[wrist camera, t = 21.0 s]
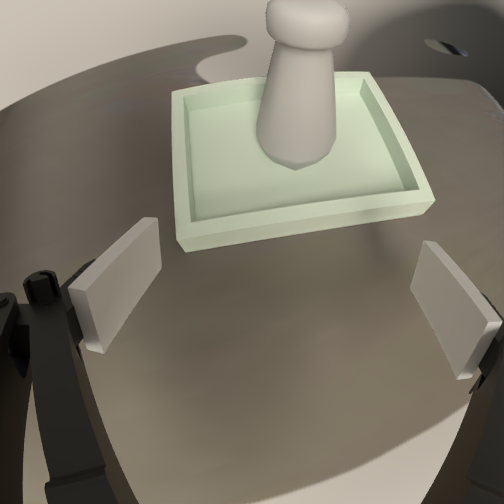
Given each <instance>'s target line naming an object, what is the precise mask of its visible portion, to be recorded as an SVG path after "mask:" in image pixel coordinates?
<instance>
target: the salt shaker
mask: <svg viewBox="0 0 504 504" xmlns="http://www.w3.org/2000/svg"><path fill="white" fill-rule="evenodd" d="M266 25H267V31H268V33H269V35H270V36H271V37H272V38H274V40H275V45H274V49H273V54H272V57H271V62H270V66H269V70H268V75H267V78H266V83H265V87H264V91H263V96H262V100H261V104H260V109H259V113H258V118H257V123H256V135H257V138H258V141H259V142H260V144H261V146H262V148H263V149H264V151H265V153H266V154H267V155H268V156H269V157H270V159H271V160H272V161H273V162H275V163H277V164H280V165H282V166H285V167H287V168H289V169H292V170H294V171H297V170H299V169H302V168H305V167H308V166H310V165H313V164H316V163H317V162H319V161H320V160H321V159H323V158H324V157H325V156H327V155H328V154H329V152H330V151H331V148H332V146H333V144H334V142H335V140H336V101H335V79H334V51H333V48H336V47H339V46H340V45H341V44H342V42H343V41H344V39H345V38H346V36H347V34H348V30H349V26H350V22H349V14H348V12H347V10H346V8H345V7H344V6H343V5H342V3H341V2H339V1H337V0H271V1H269V2H268V4H267V9H266Z"/></svg>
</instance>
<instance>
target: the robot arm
mask: <svg viewBox="0 0 504 504" xmlns="http://www.w3.org/2000/svg"><path fill="white" fill-rule="evenodd" d="M161 268H162V262H161V252H160V241H159V228H158V218H151V217H143V218H142V219H141V220H140V221H139V222H137V223H136V224H135V225H134V226H133V227H132V228H131V229H129V230H128V231H127V232H126V233H125V234H124V235H123V236H122V237H120V238H119V239H118V240H117V241H116V242H115V243H114V244H113V245H112V246H110V247H109V248H108V249H107V250H106V251H105V252H104V253H103V254H102V255H101V256H100V257H99V258H97V259H94V260H92V261H90V262H88V263H86V264H84V265H83V266H82V267H81V268H80V269H79V270H78V272H76V273H75V274H74V275H73V276H72V277H70V278H69V279H68V280H67V281H66V282H65V283H64V284H63V285H62V286H61V287H60V288H59V284H58V281H57V277H56V274H55V272H53V271H49V270H44V271H38V272H36V273H33V274H31V275H30V276H28V277H27V278H26V279H25V280H24V282H23V287H24V290H25V293H26V296H27V299H28V301H29V304H18V302H17V300H16V297H15V295H14V294H13V293H0V504H23V452H24V438H25V428H26V418H27V410H28V403H29V396H30V390H31V384H32V382H33V391H34V399H35V407H36V413H37V420H38V425H39V431H40V436H41V441H42V446H43V451H44V455H45V459H46V463H47V467H48V471H49V476H50V481H49V482H47V483H45V494H46V499H47V502H48V504H139V503H138V501H137V499H136V497H135V495H134V494H133V492H132V490H131V488H130V485H129V483H128V481H127V479H126V477H125V475H124V473H123V471H122V468H121V466H120V464H119V462H118V459H117V457H116V455H115V452H114V450H113V448H112V445H111V443H110V440H109V438H108V435H107V433H106V430H105V427H104V425H103V422H102V419H101V416H100V413H99V411H98V408H97V405H96V402H95V399H94V396H93V392H92V389H91V386H90V383H89V379H88V376H87V372H86V369H85V365H84V361H83V358H82V354H81V350H80V348H79V345H78V344H79V343H80V341H81V340H82V339H83V338H84V341H85V344H86V347H87V349H88V350H91V351H95V352H99V353H103V354H104V353H105V352H106V350H107V349H108V347H109V345H110V344H111V342H112V341H113V339H114V338H115V336H116V335H117V333H118V331H119V330H120V328H121V327H122V325H123V324H124V322H125V321H126V319H127V318H128V316H129V315H130V313H131V312H132V310H133V309H134V307H135V306H136V304H137V303H138V301H139V300H140V299H141V297H142V296H143V294H144V293H145V291H146V290H147V288H148V287H149V285H150V284H151V283H152V281H153V280H154V278H155V277H156V275H157V274H158V273H159V271H160V270H161ZM410 289H411V291H412V293H413V295H414V296H415V298H416V300H417V302H418V304H419V305H420V307H421V309H422V311H423V313H424V314H425V316H426V318H427V320H428V322H429V324H430V326H431V328H432V330H433V331H434V333H435V335H436V337H437V339H438V341H439V343H440V345H441V347H442V349H443V351H444V353H445V356H446V358H447V360H448V362H449V364H450V366H451V368H452V370H453V372H454V375H455V377H456V379H465V378H471V377H472V376H473V374H474V372H475V371H476V369H477V367H478V366H479V368H480V370H481V372H482V373H481V375H480V376H479V378H478V380H477V381H476V383H475V384H474V386H473V387H472V389H471V390H470V392H469V394H471V393H472V392H473V394H472V397H471V400H470V403H469V405H468V408H467V411H466V413H465V416H464V418H463V421H462V423H461V426H460V428H459V431H458V433H457V435H456V438H455V440H454V442H453V444H452V446H451V449H450V451H449V453H448V455H447V457H446V459H445V461H444V463H443V465H442V467H441V469H440V471H439V473H438V475H437V476H436V478H435V480H434V482H433V484H432V486H431V487H430V489H429V491H428V493H427V494H426V496H425V498H424V499H423V501H422V503H421V504H504V319H503V317H502V316H501V315H500V314H499V312H498V311H497V310H496V308H495V307H494V306H493V305H491V302H490V301H489V299H488V298H487V297H486V296H485V295H484V294H482V293H481V292H480V291H479V290H478V289H477V288H476V287H475V286H474V284H473V283H472V282H471V281H470V280H469V278H468V277H467V276H466V275H465V274H464V273H463V271H462V270H461V269H460V268H459V267H458V266H457V265H456V263H455V262H454V261H453V260H452V259H451V258H450V257H449V256H448V255H447V253H446V252H445V251H444V250H443V249H442V248H441V247H440V246H439V245H438V244H437V243H436V242H432V241H424V240H423V244H422V248H421V251H420V255H419V259H418V262H417V266H416V269H415V273H414V276H413V279H412V282H411V286H410Z"/></svg>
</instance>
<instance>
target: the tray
mask: <svg viewBox="0 0 504 504" xmlns="http://www.w3.org/2000/svg"><path fill="white" fill-rule="evenodd" d="M266 78H267V76H261V77H254V78H245V79H237V80H231V81H224V82H218V83H212V84H206V85H201V86H196V87H191V88H186V89H181V90H176V91H172V164H173V190H174V209H175V225H176V240H177V241H178V243H179V244H180V246H181V247H182V248H183V250H184V251H185V253H186V252H192V251H198V250H204V249H210V248H216V247H222V246H228V245H234V244H240V243H246V242H252V241H258V240H264V239H270V238H276V237H283V236H289V235H295V234H301V233H307V232H314V231H320V230H326V229H333V228H339V227H345V226H352V225H358V224H364V223H371V222H377V221H384V220H390V219H397V218H404V217H410V216H417V215H422V214H423V213H424V212H425V211H426V210H427V209H428V208H429V207H430V206H431V205H432V204H433V203H434V201H435V198H434V196H433V193H432V191H431V188H430V186H429V184H428V181H427V179H426V177H425V175H424V172H423V170H422V168H421V166H420V163H419V161H418V159H417V157H416V155H415V153H414V151H413V149H412V147H411V145H410V143H409V141H408V139H407V137H406V135H405V133H404V131H403V129H402V127H401V125H400V123H399V122H398V120H397V118H396V116H395V114H394V112H393V111H392V109H391V107H390V105H389V104H388V102H387V100H386V98H385V97H384V95H383V93H382V92H381V90H380V88H379V87H378V85H377V84H376V82H375V80H374V79H373V77H372V76H371V74H370V73H369V72H334V79H335V101H336V140H335V142H334V144H333V146H332V148H331V151H330V152H329V154H328V155H327V156H325V157H324V158H323V159H321V160H320V161H319V162H317V163H316V164H313V165H310V166H308V167H305V168H302V169H299V170H297V171H294V170H292V169H289V168H287V167H285V166H282V165H280V164H277V163H275V162H273V161H272V160H271V159H270V157H269V156H268V155H267V154H266V153H265V151H264V149H263V148H262V146H261V144H260V142H259V141H258V138H257V135H256V123H257V118H258V113H259V109H260V104H261V100H262V96H263V91H264V87H265V83H266Z"/></svg>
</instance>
